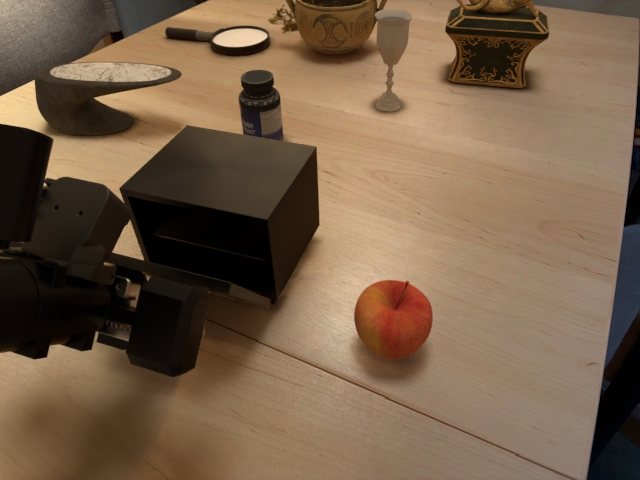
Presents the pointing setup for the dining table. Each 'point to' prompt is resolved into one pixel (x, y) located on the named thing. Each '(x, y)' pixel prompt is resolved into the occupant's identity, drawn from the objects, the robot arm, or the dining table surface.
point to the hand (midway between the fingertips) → (149, 298)
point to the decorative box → (494, 41)
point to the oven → (227, 207)
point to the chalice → (391, 49)
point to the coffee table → (92, 93)
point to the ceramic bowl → (335, 23)
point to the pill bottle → (260, 105)
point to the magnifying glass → (227, 38)
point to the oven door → (191, 280)
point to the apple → (393, 318)
